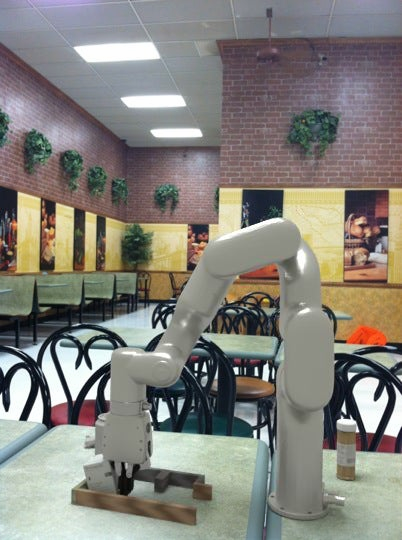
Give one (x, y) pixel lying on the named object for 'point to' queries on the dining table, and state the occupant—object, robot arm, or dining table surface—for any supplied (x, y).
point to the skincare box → (101, 475)
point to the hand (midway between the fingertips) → (125, 493)
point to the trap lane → (145, 506)
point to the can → (99, 433)
